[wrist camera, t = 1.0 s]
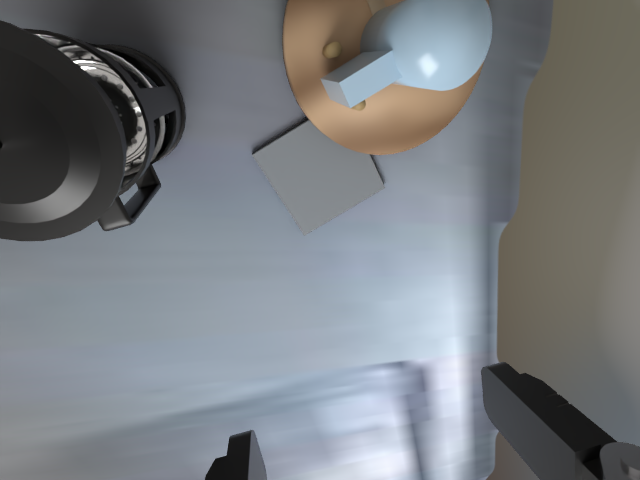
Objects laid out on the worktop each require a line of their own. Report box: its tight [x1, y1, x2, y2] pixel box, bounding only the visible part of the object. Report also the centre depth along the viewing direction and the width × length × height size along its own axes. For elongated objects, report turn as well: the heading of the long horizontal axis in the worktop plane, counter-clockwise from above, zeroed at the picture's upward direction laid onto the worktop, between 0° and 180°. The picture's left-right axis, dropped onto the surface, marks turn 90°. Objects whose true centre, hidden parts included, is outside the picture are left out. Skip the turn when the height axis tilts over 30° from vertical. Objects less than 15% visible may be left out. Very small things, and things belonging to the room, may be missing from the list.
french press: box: [0, 21, 186, 241], centre depth 19 cm, size 12×9×23 cm
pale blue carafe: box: [321, 0, 492, 108], centre depth 24 cm, size 10×6×9 cm, turn 118°
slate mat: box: [252, 119, 385, 236], centre depth 34 cm, size 10×10×1 cm
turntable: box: [282, 0, 489, 155], centre depth 26 cm, size 18×18×8 cm
